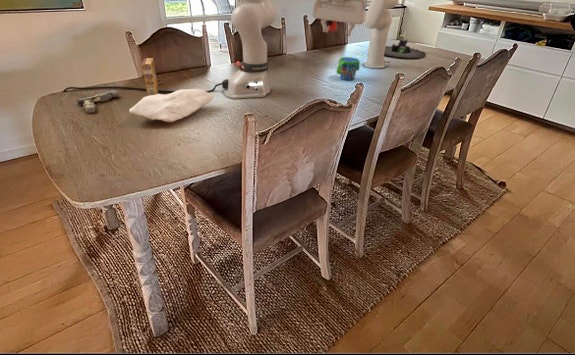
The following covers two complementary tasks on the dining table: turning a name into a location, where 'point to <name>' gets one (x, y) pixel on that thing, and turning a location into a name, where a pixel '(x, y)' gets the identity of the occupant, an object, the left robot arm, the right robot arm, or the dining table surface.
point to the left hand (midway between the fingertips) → (336, 33)
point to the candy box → (150, 76)
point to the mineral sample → (403, 51)
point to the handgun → (95, 100)
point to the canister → (333, 26)
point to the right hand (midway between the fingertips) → (332, 24)
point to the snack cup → (348, 67)
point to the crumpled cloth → (171, 104)
